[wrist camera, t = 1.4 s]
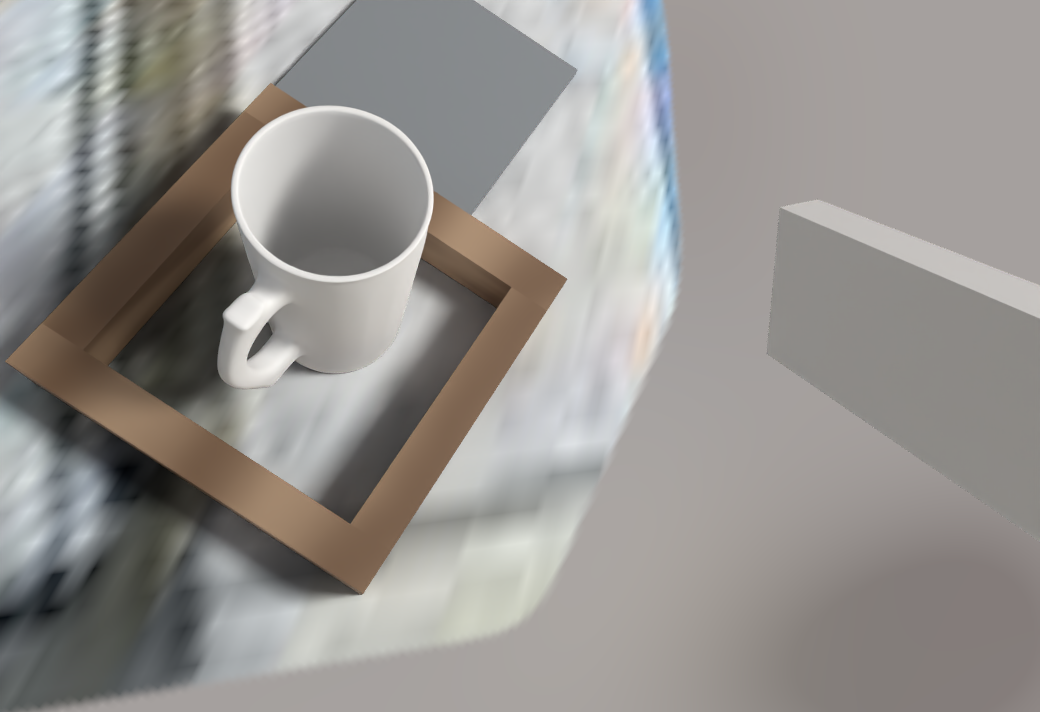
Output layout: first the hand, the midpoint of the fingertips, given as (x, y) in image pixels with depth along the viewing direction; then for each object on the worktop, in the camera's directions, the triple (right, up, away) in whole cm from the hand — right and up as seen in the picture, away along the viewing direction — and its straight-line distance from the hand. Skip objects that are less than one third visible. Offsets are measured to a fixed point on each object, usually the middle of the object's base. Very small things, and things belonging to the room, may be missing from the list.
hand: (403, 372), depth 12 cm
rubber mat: (-3, +15, +31) cm, 35 cm away
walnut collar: (-8, +1, +26) cm, 27 cm away
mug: (-8, +1, +26) cm, 27 cm away
